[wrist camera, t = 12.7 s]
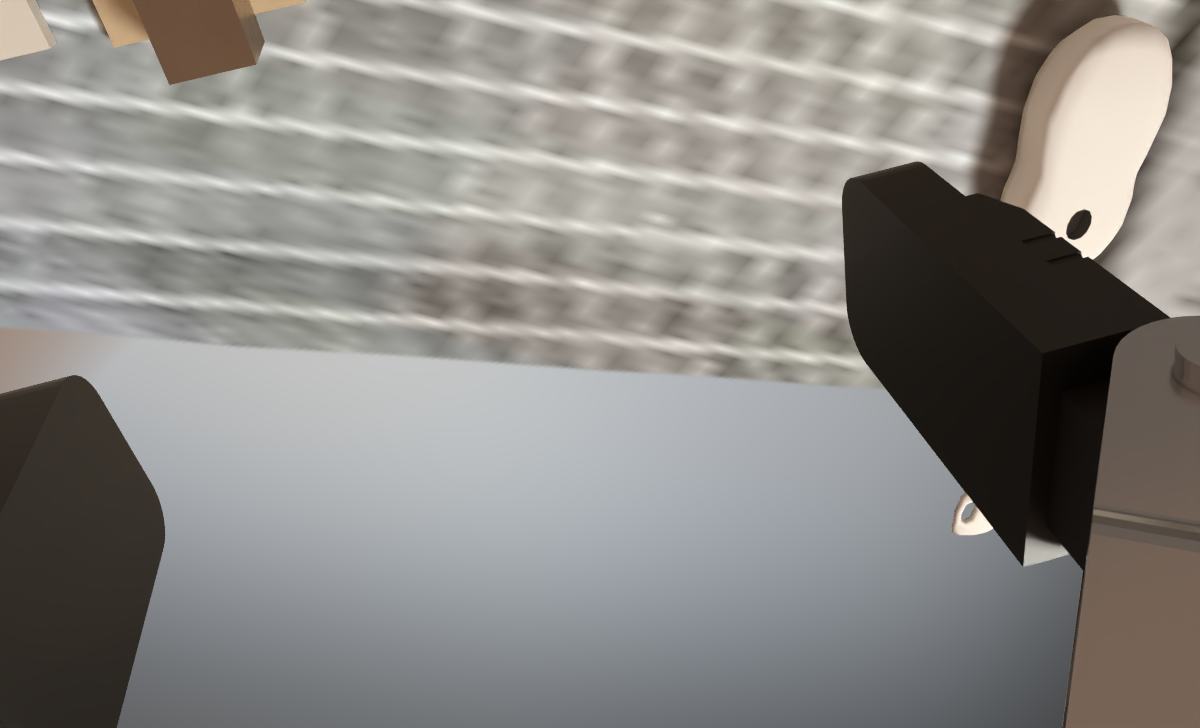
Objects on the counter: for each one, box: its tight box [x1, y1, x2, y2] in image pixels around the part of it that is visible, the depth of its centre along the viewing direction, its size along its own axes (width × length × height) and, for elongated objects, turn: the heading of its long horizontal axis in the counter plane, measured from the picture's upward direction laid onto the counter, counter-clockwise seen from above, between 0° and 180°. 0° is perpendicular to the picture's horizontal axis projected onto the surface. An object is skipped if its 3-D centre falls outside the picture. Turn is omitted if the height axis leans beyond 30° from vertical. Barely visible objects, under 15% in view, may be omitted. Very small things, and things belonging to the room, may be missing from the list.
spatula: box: [952, 15, 1172, 535], centre depth 49 cm, size 28×6×3 cm, turn 178°
